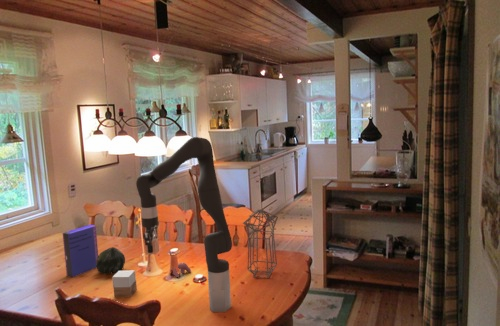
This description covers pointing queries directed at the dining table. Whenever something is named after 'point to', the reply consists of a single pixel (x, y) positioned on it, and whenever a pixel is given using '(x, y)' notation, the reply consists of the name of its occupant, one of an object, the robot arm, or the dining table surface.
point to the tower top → (124, 278)
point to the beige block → (155, 247)
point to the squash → (110, 261)
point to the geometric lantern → (261, 238)
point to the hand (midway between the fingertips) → (152, 250)
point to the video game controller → (181, 269)
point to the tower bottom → (125, 291)
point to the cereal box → (80, 250)
